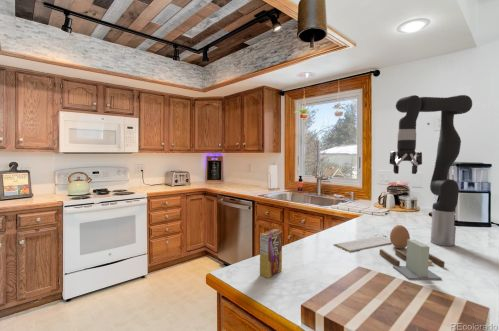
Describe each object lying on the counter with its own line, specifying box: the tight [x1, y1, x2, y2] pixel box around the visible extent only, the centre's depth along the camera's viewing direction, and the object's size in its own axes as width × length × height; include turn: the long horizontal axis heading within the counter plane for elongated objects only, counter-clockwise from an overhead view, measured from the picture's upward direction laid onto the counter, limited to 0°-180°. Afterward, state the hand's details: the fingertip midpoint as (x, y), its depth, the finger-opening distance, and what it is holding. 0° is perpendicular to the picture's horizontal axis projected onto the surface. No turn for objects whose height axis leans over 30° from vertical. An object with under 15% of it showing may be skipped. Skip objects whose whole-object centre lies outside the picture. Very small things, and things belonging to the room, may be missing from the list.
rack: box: [379, 248, 445, 268], centre depth 112 cm, size 19×13×2 cm
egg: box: [389, 224, 411, 250], centre depth 126 cm, size 8×8×11 cm
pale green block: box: [405, 238, 430, 277], centre depth 99 cm, size 3×8×11 cm, turn 2°
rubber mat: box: [392, 265, 443, 281], centre depth 99 cm, size 12×10×1 cm
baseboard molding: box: [332, 233, 393, 253], centre depth 132 cm, size 31×3×12 cm
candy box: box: [259, 228, 283, 279], centre depth 97 cm, size 9×4×15 cm, turn 140°
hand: (405, 173), depth 125 cm, fingers open, 8 cm apart
